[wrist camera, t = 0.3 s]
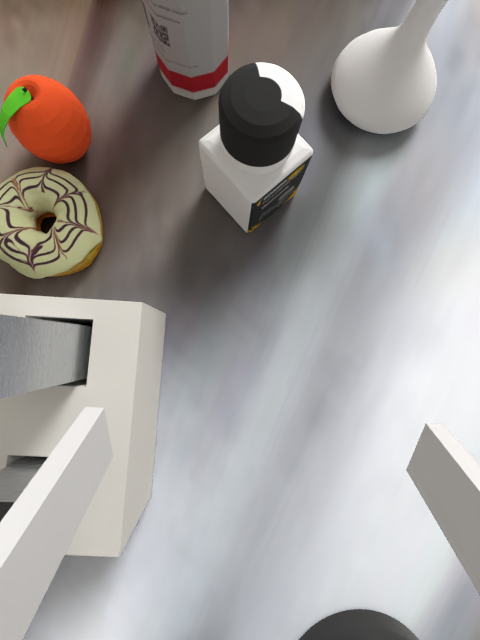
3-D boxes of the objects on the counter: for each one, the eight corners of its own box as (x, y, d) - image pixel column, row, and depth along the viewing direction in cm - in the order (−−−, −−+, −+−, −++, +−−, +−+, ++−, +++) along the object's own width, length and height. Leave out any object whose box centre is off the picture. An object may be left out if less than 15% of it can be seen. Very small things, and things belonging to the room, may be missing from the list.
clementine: (62, 197, 30) (10, 152, 23) (17, 154, 30) (-49, 96, 23) (117, 147, 31) (83, 88, 24) (72, 105, 31) (25, 34, 24)
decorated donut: (43, 301, 29) (15, 294, 25) (-13, 219, 30) (-48, 200, 26) (128, 245, 30) (114, 230, 26) (72, 165, 31) (50, 140, 27)
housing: (166, 313, 29) (140, 301, 21) (151, 496, 28) (117, 561, 19) (48, 306, 29) (-26, 291, 21) (26, 490, 27) (-63, 555, 19)
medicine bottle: (247, 235, 30) (259, 165, 18) (204, 187, 31) (187, 87, 19) (296, 194, 31) (337, 100, 19) (253, 147, 31) (267, 25, 19)
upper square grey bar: (119, 370, 28) (-60, 412, 11) (79, 368, 28) (-169, 407, 11) (123, 330, 29) (-44, 308, 11) (83, 328, 28) (-149, 302, 11)
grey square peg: (112, 473, 28) (9, 584, 15) (70, 471, 28) (-70, 581, 15) (116, 431, 28) (18, 504, 15) (75, 429, 28) (-58, 501, 15)
